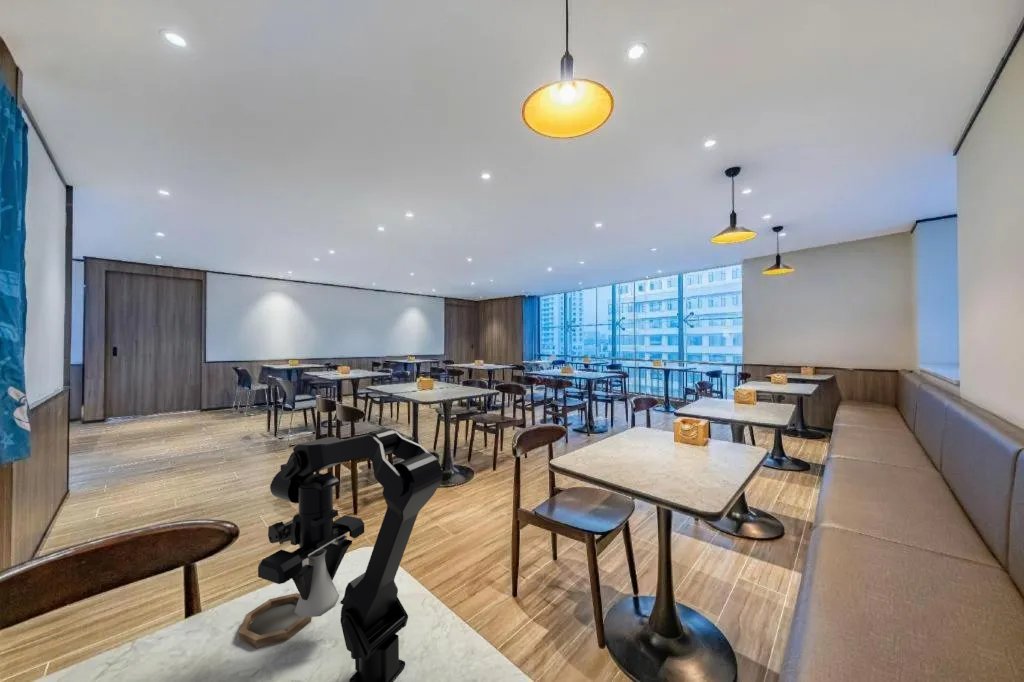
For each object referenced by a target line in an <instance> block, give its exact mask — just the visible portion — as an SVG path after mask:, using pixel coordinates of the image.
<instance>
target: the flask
mask: <svg viewBox="0 0 1024 682" xmlns="http://www.w3.org/2000/svg"><path fill="white" fill-rule="evenodd" d="M326 552H327V550H326V549H324V548H322V549H320V550H318V551H316V552H315V553H313V554H311V555H310V556H308V565H311V566H314V569H313V575H312V582H311V588H310V594H309V597H308V599H307V600H303V599H302V597H301V595H300V597H299V600H298V603H297V605H296V608H295V611H294V613H296V614H298V615H299V616H301V617H303V618H308V617H312V618H315V617H321V616H323V615H324V614H326V613H328V612H329V611H330V610H332V609H333V608H335V607H336V604H338V601H339V598H340V593H339V592H338V590H337V588H336V586H335V583H334V581H333V580H332V579H331V577H330V575H329V573H328V570H327V567H326V562H325V554H326Z"/></svg>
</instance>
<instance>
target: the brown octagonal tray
mask: <svg viewBox="0 0 1024 682" xmlns="http://www.w3.org/2000/svg"><path fill="white" fill-rule="evenodd" d="M299 597H300V593H298V592H295V593H290V594H287V595H286V594H285V595H283V596H278V597H273V598H269V599H268V600H267V601H265V602H263V603H261V604H260V605H259V606H257V607H255V608H254V609H252V610H250V611H249V612H248V613H246V614H245V615H244V619H243V621H242V623H241V625H240V628H239V631H238V641H239V642H242V643H244V644H246V645H249V646H250V647H253V648H255V649H259V648H264V647H267V646H270V645H274V644H277V643H281V642H285V641H288V640H290V639H291V638H292V637H294V636H295V635H296V634H298V633H299V632H300V631H301V630H302V629H303V628H305V627H306V626H308V625H309V624H310V623H312V618H313V617H308V618H303V617H301V616H299V615H298V614H296V613H294V611H295V608H296V605H297V603H298V600H299Z"/></svg>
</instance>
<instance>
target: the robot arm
mask: <svg viewBox="0 0 1024 682" xmlns="http://www.w3.org/2000/svg"><path fill="white" fill-rule="evenodd" d="M292 451H293V452H292V453H290V455H289V457H288V460H287V462H285V463H284V464H280V471H278V472H277V473H276V474H275V475H274V477H273V478H272V479H271V483H270V485H269V489H270V492H271V495H272V496H273V497H276V498H278V499H280V500H283V501H287V502H289V503H293V504H298V513H297V514H295V515H294V516H293V518H292V519H291V520H288V521H287V522H285V523H284V522H283V521H279V522H275V523H274V524H272V525H269V526H268V530H267V531H268V533H267V537H268V541H269V543H271V544H272V545H273V544H275V543H279V545H283V544H284V543H287V542H290V545H293V546H298V545H299V548H297V549H295V550H293V551H292V552H291V551H287V550H284V549H279V550H278V551H276V552H274V553H271V554H270V555H268V556H266V557H265V558H263V559H261V561H260V562H259V563H258V566H257V577H258V578H260V579H263V580H265V581H268V582H271V583H274V584H277V585H281V584H285V583H287V582H288V581H290V580H292V581H293V583H294V585H295V587H296V589H297V591H298V592H299V594H300V595H301V597H302V599H303V600H307V599H308V597H309V594H310V588H311V582H312V575H313V569H314V566H311V565H308V556H310V555H311V554H313V553H315V552H316V551H318V550H320V549H322V548H324V549H326V550H327V552H326V554H325V562H326V567H327V570H328V573H329V575H330V577H331V579H332V581H333V580H334V578H335V576H336V574H337V571H338V569H339V567H340V565H341V562H342V561H343V559H344V557H345V555H346V553H347V551H348V549H349V548H350V546H351V545H352V544H353V540H352V539H354V540H355V539H357V538H358V537H359V536H361V535H363V534H365V523H364V521H363V519H362V518H360V517H355V516H351V515H346V514H345V515H343V516H341V517H339V518H337V519H335V520H334V518H336V517H338V516H339V509H334V501H333V500H334V497H333V496H334V490H333V489H334V488H333V487H335V486H338V485H340V480H339V479H338V478H337V477H336V476H334V474H333V473H332V472H331V471H329V472H326V473H321V471H323V470H327V469H330V468H333V467H335V466H337V465H339V464H342V463H345V462H350V461H356V460H360V459H362V460H363V459H367V458H368V460H369V461H370V462H371V464H372V465H371V466H372V469H373V470H372V471H373V475H374V479H375V480H376V481H377V482H378V483H379V484H380V485H381V487H383V489H382V496H383V498H384V501H385V504H386V511H385V513H384V515H383V519H382V522H381V524H380V525H381V526H380V528H379V531H378V534H377V537H376V539H375V543H374V546H373V547H372V548H373V549H372V551H371V555H370V558H369V560H368V563H367V566H366V568H365V572H363V573H362V574H361V575H358V576H357V577H356V578H354V579H353V580H351V581H349V582H348V583H347V585H346V587H345V591H344V596H343V598H342V599H341V600H340V605H342V606H341V609H340V626H341V630H342V634H343V639H344V643H345V647H346V650H347V651H348V652H350V656H351V658H350V659H352V660H355V662H354V666H355V673H354V674H353V675H352V676H351V677H350V678H349V679H348V680H349V682H394V680H395V679H396V678H397V677H398V676H399V674H400V673H401V671H402V670H403V669H404V668H405V667H406V661H405V660H402V659H400V652H399V651H400V650H399V649H400V648H399V644H400V643H399V642H400V641H399V639H400V637H399V634H397V633H398V632H399V631H401V630H402V629H404V628H405V627H406V626H407V624H408V620H409V614H408V613H407V611H406V609H405V608H404V606H403V604H402V602H401V600H400V599H399V597H398V592H399V589H398V586H397V584H396V582H395V579H396V576H397V573H398V570H399V567H400V564H401V563H402V559H403V556H404V554H405V551H406V548H407V545H408V543H409V539H410V536H411V534H412V531H413V529H414V526H415V524H416V521H417V518H418V514H419V513H420V511H421V510H422V509H423V508H424V506H425V505H427V503H428V502H429V501H430V499H431V498H432V497H433V496H434V495H435V493H436V491H437V490H438V488H439V486H440V484H441V482H442V480H443V477H444V470H443V468H442V466H441V463H440V462H439V461H438V458H436V456H434V455H433V454H432V453H431V452H429V451H428V450H427V449H426V448H425V447H424V445H421V444H419V443H417V442H415V441H413V440H410V439H408V438H405V437H403V435H401V433H399V432H398V431H397V430H396V429H395V428H390V427H389V428H383V429H380V430H376V431H373V432H370V433H367V434H364V435H363V434H362V435H359V436H358V435H357V436H355V437H350V438H344V439H340V438H339V437H333V436H332V437H331V436H329V437H323V438H319V439H315V440H311V441H307V442H302V443H298V444H296V445H295V446H294V447H293V448H292ZM387 454H392V455H393V456H395V457H397V458H400V459H401V460H402V461H399V462H397V463H394V464H391V463H390V462H389V460H387V459H386V455H387ZM319 472H320V473H319ZM347 533H349V537H350V538H351V540H350V539H348V536H347Z"/></svg>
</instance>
